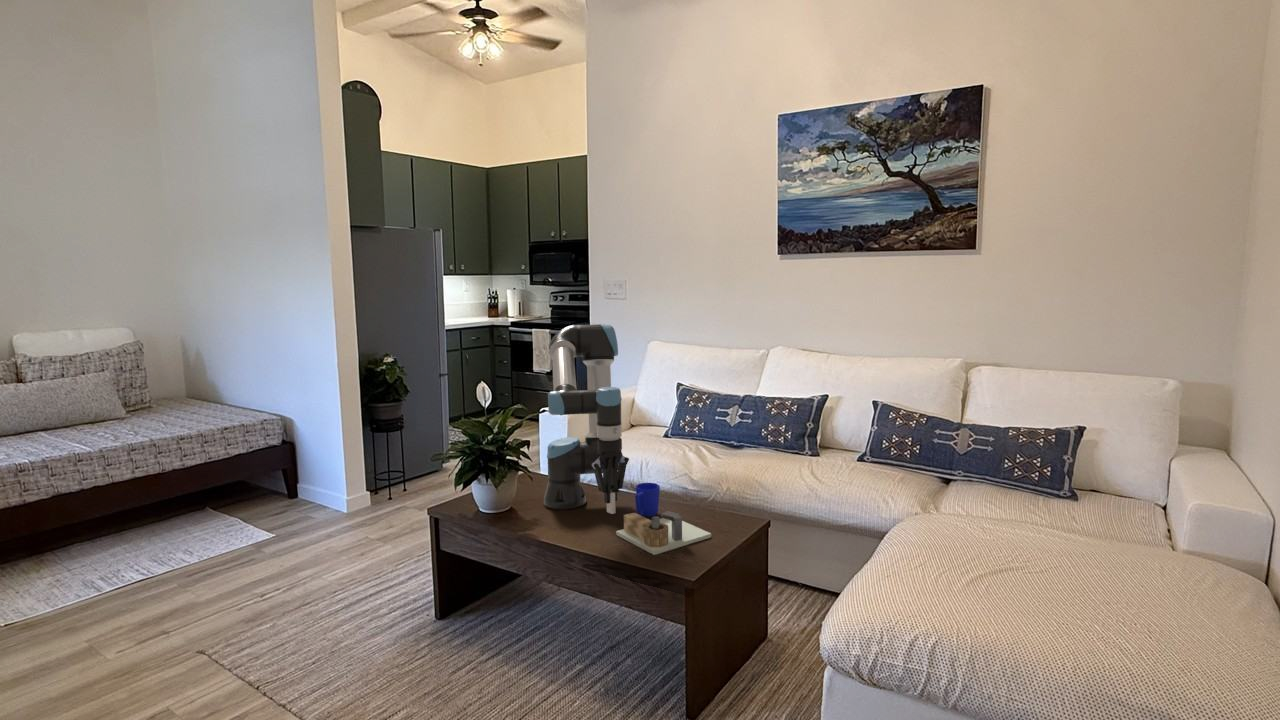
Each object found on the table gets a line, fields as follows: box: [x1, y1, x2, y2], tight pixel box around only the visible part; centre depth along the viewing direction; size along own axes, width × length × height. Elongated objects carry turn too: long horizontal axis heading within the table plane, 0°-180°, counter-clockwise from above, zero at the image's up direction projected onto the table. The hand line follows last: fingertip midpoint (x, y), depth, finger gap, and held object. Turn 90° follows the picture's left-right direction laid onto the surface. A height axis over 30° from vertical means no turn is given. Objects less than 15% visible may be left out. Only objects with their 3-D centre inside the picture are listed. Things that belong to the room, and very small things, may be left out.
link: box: [623, 512, 668, 547], centre depth 215 cm, size 18×7×5 cm, turn 36°
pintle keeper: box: [651, 510, 683, 541], centre depth 213 cm, size 7×10×9 cm
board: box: [615, 518, 712, 556], centre depth 219 cm, size 20×22×1 cm
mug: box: [634, 482, 661, 518], centre depth 237 cm, size 8×12×10 cm
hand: (611, 512), depth 215 cm, fingers closed
